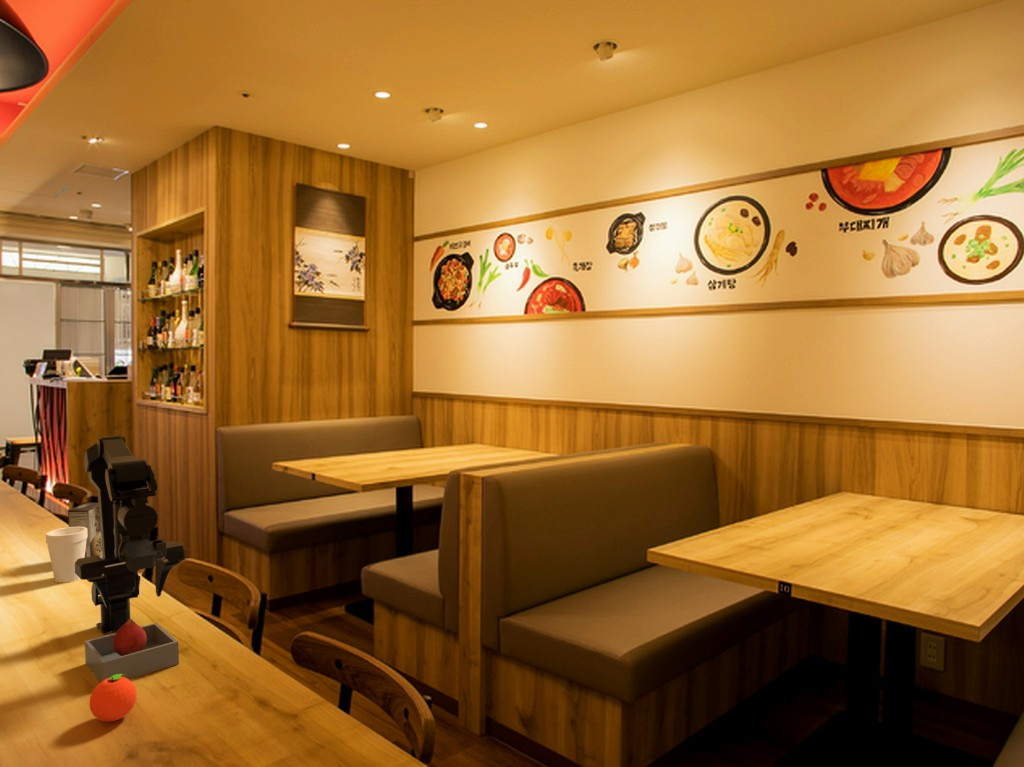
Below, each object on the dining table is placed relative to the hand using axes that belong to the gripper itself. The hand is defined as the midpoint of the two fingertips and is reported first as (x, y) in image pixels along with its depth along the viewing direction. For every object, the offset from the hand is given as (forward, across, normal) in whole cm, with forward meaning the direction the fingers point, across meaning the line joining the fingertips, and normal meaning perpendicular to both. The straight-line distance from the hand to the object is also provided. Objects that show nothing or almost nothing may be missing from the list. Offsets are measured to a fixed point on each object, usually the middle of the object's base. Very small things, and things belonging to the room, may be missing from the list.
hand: (133, 601), depth 141 cm
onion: (+11, -1, -2) cm, 11 cm away
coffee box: (+13, +10, +81) cm, 83 cm away
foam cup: (+13, +1, +66) cm, 68 cm away
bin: (+12, -1, -2) cm, 12 cm away
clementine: (+12, -9, -22) cm, 26 cm away
